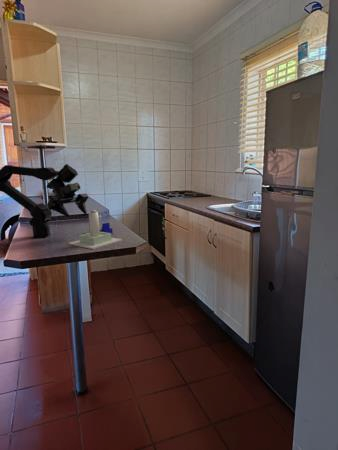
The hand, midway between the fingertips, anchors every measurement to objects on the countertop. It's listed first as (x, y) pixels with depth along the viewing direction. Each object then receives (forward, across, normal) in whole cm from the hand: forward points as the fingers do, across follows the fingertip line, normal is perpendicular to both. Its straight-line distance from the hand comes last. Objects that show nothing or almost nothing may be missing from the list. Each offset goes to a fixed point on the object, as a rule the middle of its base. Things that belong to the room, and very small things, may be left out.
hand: (77, 215), depth 135 cm
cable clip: (+7, +14, +9) cm, 18 cm away
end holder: (+15, +1, 0) cm, 15 cm away
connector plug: (+15, +1, 0) cm, 15 cm away
